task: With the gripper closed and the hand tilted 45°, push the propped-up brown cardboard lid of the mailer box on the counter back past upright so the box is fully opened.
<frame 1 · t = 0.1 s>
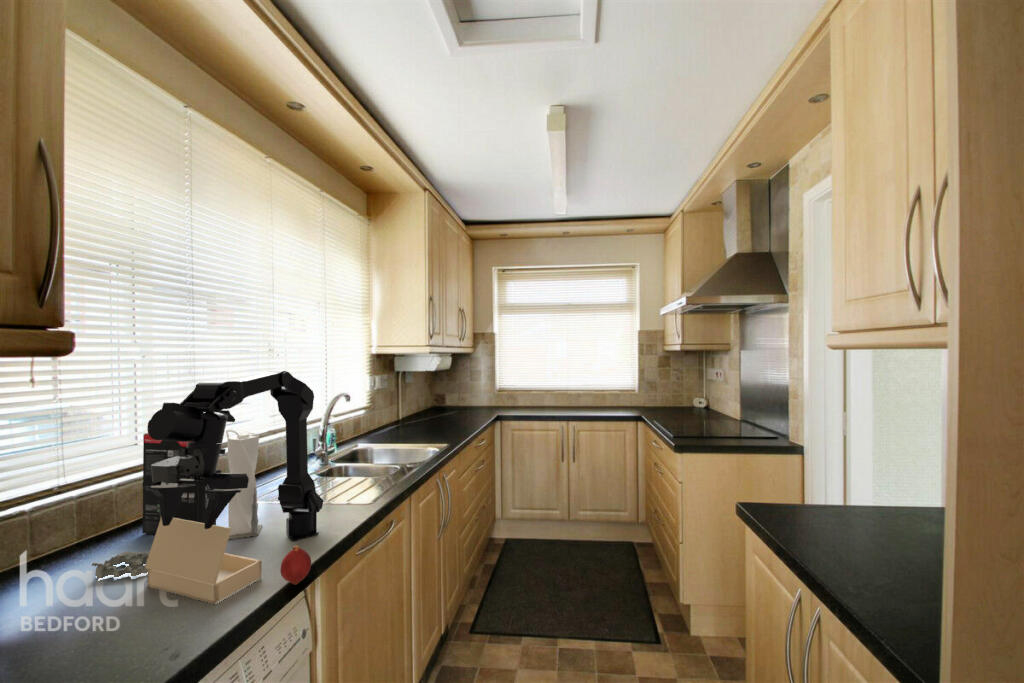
hand: (186, 527, 82), 15 cm above the table, tool pointing down, fingers open, 9 cm apart
graphics card box: (179, 532, 118), on the table
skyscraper: (242, 533, 117), on the table
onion: (296, 584, 91), on the table
mailer box: (205, 583, 91), on the table
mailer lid: (187, 548, 88), point 9 cm above the table, hinge at 72.0°, touching mailer box
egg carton: (128, 574, 96), on the table
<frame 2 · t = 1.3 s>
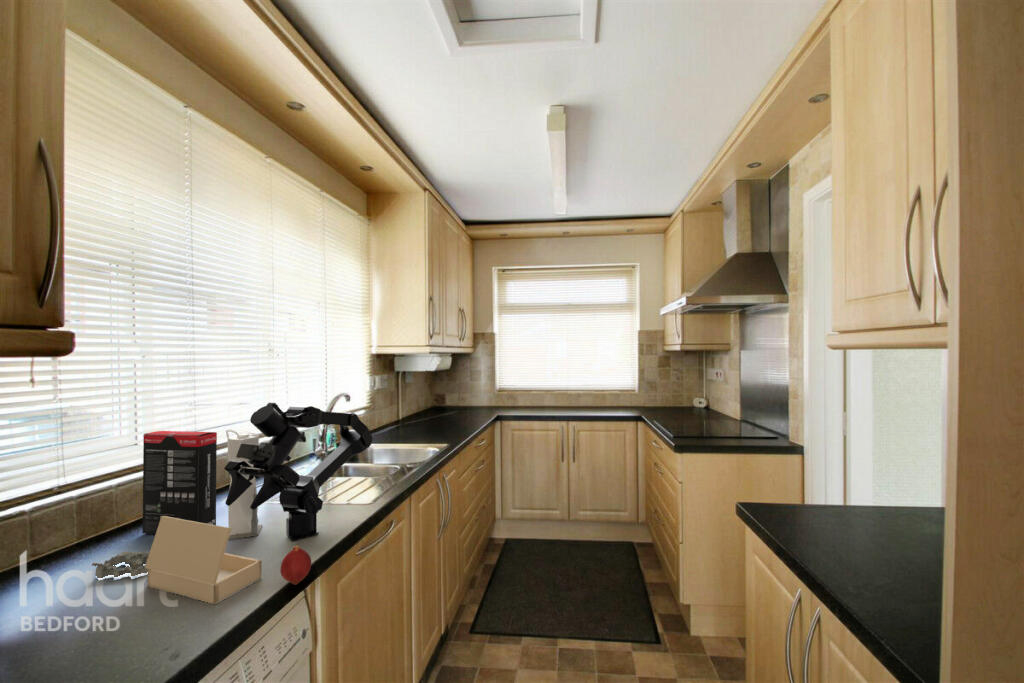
hand: (239, 506, 99), 13 cm above the table, tool tilted 45°, fingers open, 7 cm apart
nothing on the table moved.
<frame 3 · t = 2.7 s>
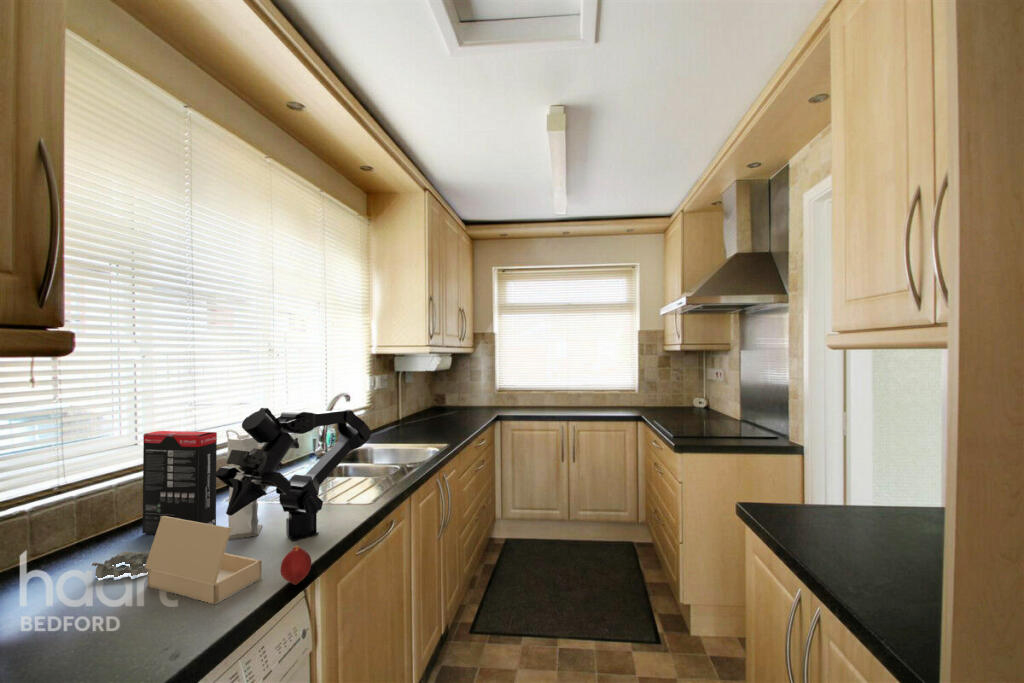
hand: (228, 514, 97), 13 cm above the table, tool tilted 45°, fingers closed
nothing on the table moved.
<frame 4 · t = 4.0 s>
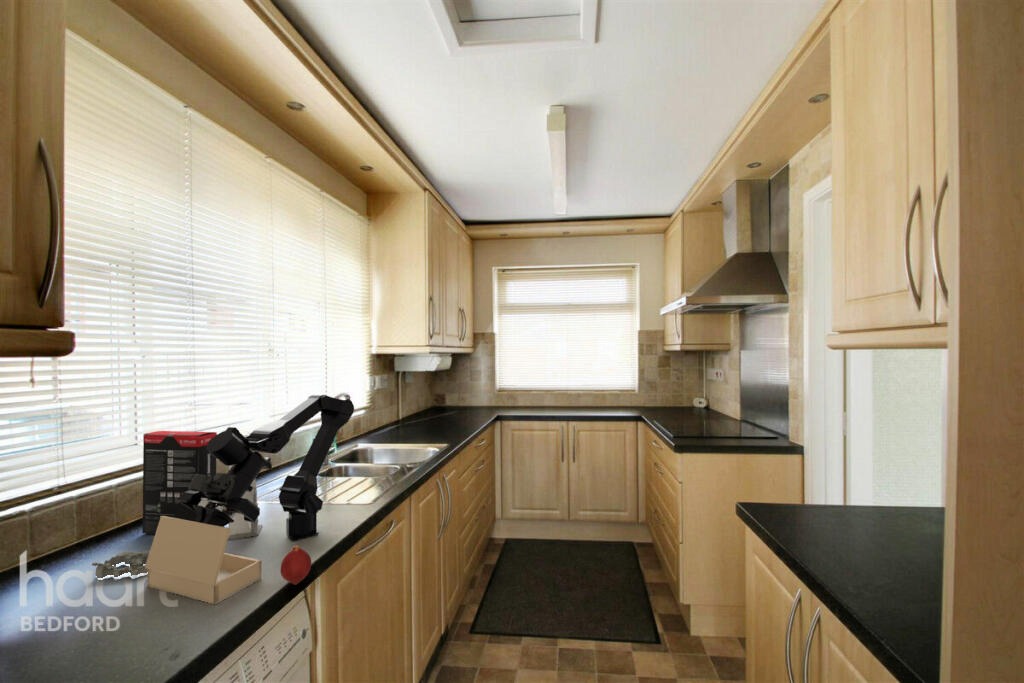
hand: (190, 545, 89), 9 cm above the table, tool tilted 45°, fingers closed, pressing on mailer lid
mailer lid: (186, 548, 88), point 9 cm above the table, hinge at 72.8°, touching gripper, mailer box
everything else where it was.
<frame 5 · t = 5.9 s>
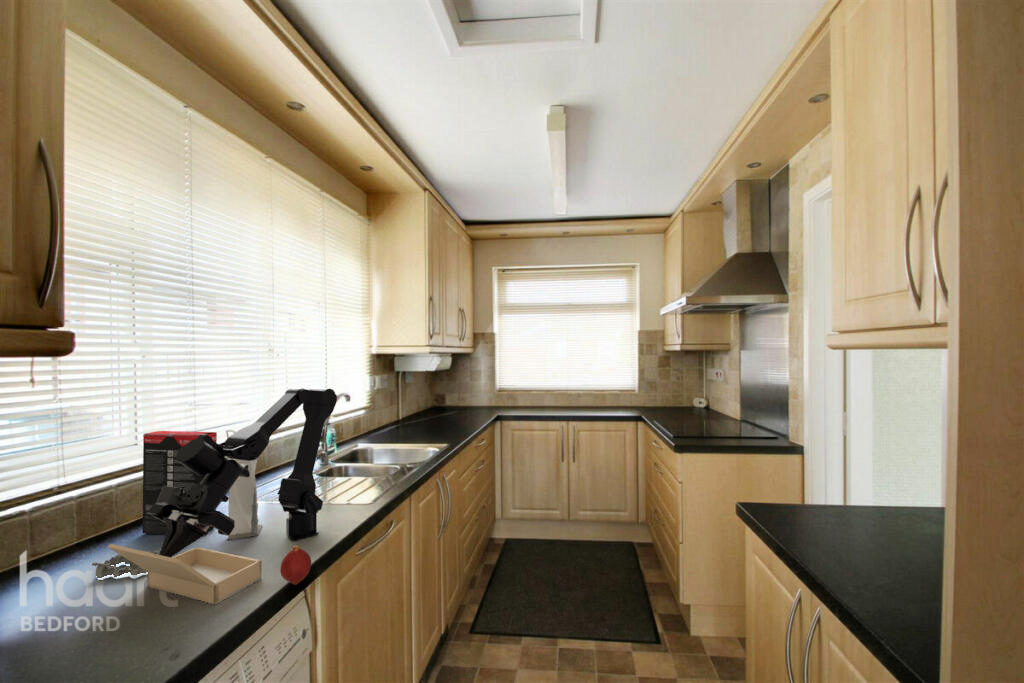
hand: (160, 561, 83), 8 cm above the table, tool tilted 45°, fingers closed, pressing on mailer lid
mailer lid: (161, 565, 84), point 8 cm above the table, hinge at 130.8°, touching gripper, mailer box
everything else where it was.
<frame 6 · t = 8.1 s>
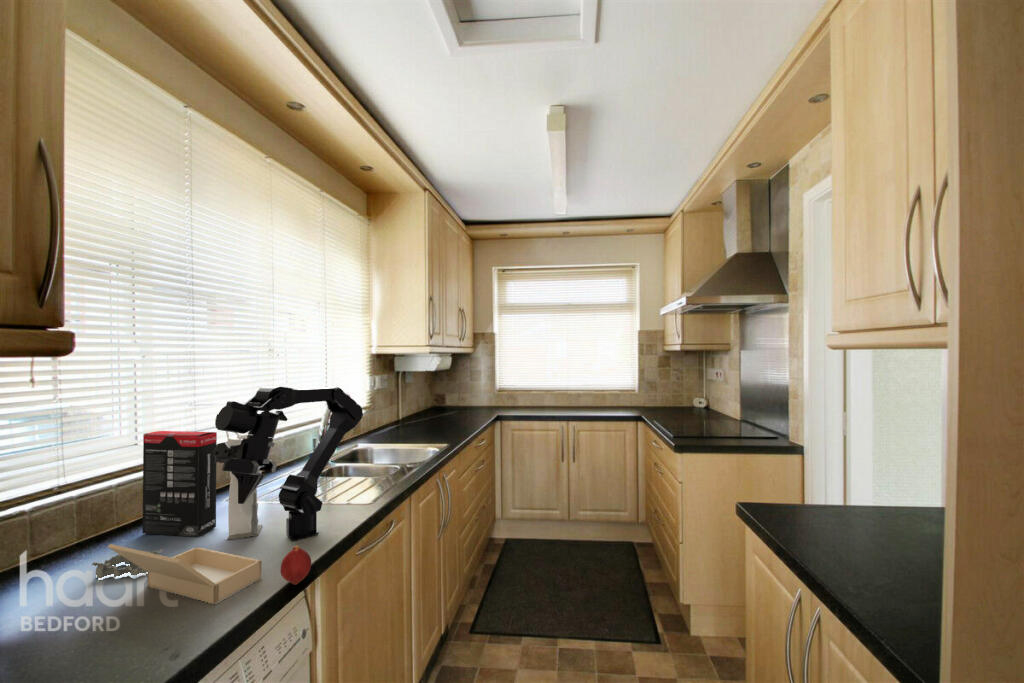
hand: (240, 503, 102), 13 cm above the table, tool tilted 20°, fingers closed
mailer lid: (161, 565, 84), point 8 cm above the table, hinge at 130.8°, touching mailer box
everything else where it was.
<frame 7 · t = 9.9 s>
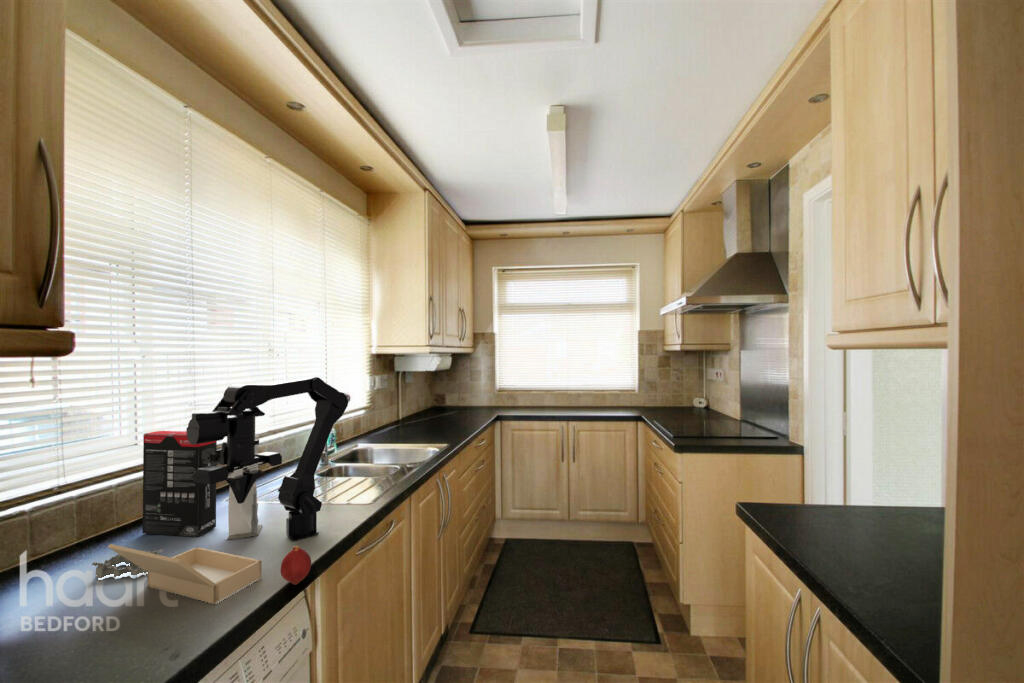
hand: (240, 503, 103), 13 cm above the table, tool pointing down, fingers closed
nothing on the table moved.
at the end: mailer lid at +131° (first picture: +72°); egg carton moved 0.6 cm from its start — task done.
